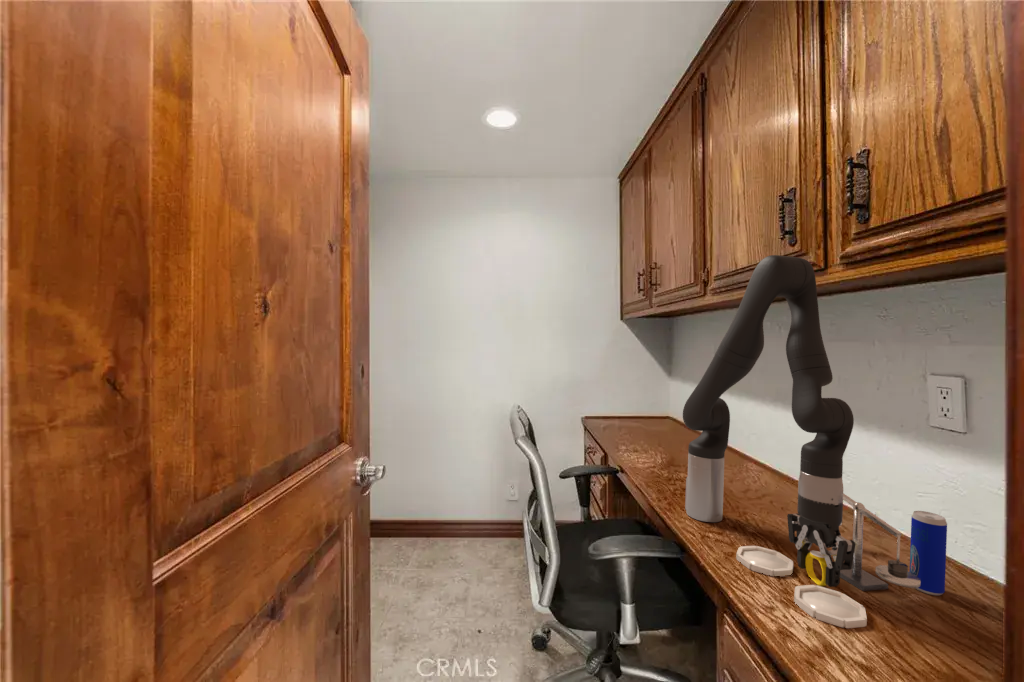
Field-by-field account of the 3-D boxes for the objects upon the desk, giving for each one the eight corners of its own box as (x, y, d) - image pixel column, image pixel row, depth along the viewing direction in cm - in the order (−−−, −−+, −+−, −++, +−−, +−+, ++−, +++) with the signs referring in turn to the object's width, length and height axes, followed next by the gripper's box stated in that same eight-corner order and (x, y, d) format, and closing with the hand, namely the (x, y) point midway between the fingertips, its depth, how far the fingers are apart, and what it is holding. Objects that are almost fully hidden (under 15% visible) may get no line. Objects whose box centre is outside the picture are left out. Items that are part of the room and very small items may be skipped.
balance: (798, 552, 100) (801, 478, 100) (822, 551, 101) (825, 477, 101) (900, 614, 78) (903, 518, 78) (929, 611, 79) (932, 517, 79)
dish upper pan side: (726, 552, 100) (727, 547, 100) (767, 549, 101) (767, 544, 101) (760, 577, 89) (760, 572, 89) (805, 574, 91) (805, 568, 91)
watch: (833, 591, 85) (835, 563, 85) (818, 590, 86) (821, 562, 85) (814, 573, 91) (816, 546, 91) (800, 572, 91) (802, 545, 91)
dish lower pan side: (780, 593, 84) (781, 587, 84) (827, 589, 86) (828, 583, 86) (829, 630, 73) (829, 623, 73) (881, 624, 75) (882, 618, 75)
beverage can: (908, 578, 90) (910, 508, 90) (942, 588, 87) (945, 514, 87) (910, 589, 86) (912, 515, 86) (946, 600, 83) (949, 523, 83)
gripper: (776, 483, 95) (774, 559, 95) (836, 509, 80) (833, 599, 80) (806, 482, 96) (803, 557, 96) (870, 508, 82) (867, 596, 82)
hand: (817, 576), depth 88 cm, fingers closed on watch, 6 cm apart
